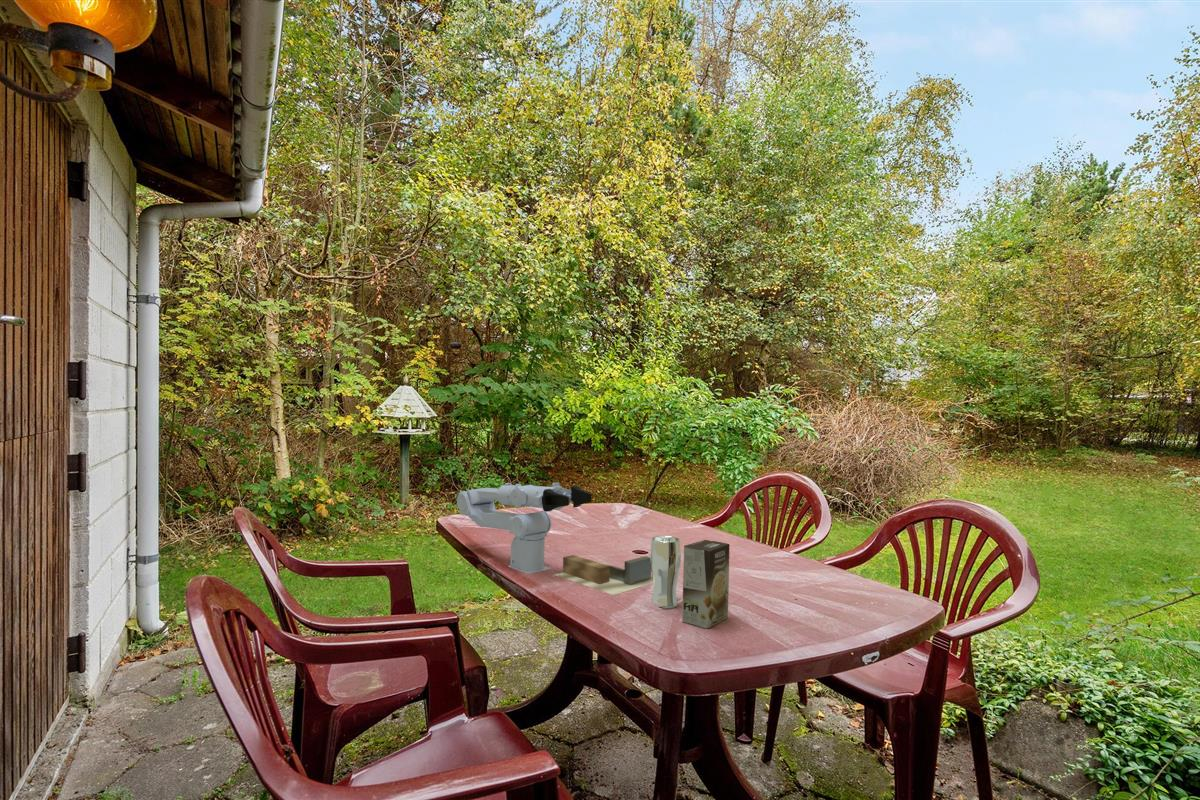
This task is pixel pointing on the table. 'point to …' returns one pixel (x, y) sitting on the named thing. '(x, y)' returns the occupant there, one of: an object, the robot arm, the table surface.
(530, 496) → the robot arm
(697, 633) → the table surface
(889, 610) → the table surface
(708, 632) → the table surface
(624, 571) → the bracket
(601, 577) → the brown wooden block
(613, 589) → the board
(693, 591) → the coffee box
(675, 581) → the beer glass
